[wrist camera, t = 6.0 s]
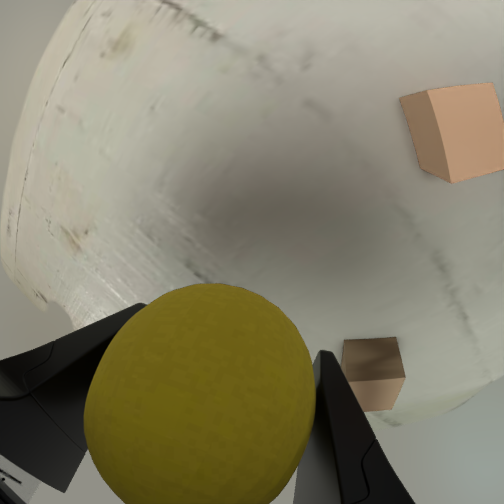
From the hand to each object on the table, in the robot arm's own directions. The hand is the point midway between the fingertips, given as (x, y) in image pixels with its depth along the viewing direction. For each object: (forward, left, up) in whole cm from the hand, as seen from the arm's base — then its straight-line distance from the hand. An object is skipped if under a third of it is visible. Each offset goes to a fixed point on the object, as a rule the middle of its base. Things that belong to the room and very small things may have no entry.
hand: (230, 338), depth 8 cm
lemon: (0, 0, -2) cm, 2 cm away
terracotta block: (-10, -9, -13) cm, 18 cm away
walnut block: (-11, +12, -13) cm, 20 cm away
